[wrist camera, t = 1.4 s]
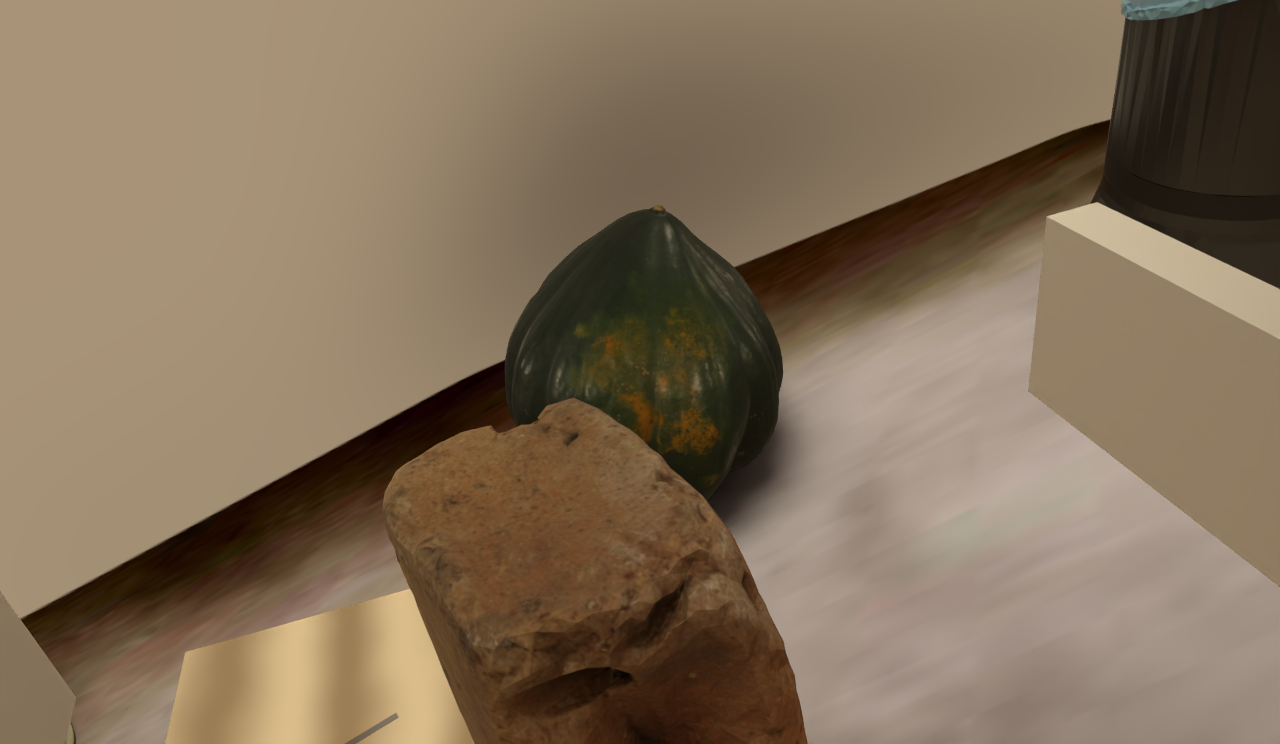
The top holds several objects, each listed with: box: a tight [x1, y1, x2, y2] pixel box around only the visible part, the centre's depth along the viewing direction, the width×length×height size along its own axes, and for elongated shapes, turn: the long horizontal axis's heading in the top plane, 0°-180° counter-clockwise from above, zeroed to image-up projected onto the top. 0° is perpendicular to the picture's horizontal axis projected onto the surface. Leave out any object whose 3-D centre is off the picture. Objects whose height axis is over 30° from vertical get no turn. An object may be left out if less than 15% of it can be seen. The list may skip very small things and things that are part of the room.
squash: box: [505, 205, 783, 501], centre depth 49 cm, size 14×15×15 cm
